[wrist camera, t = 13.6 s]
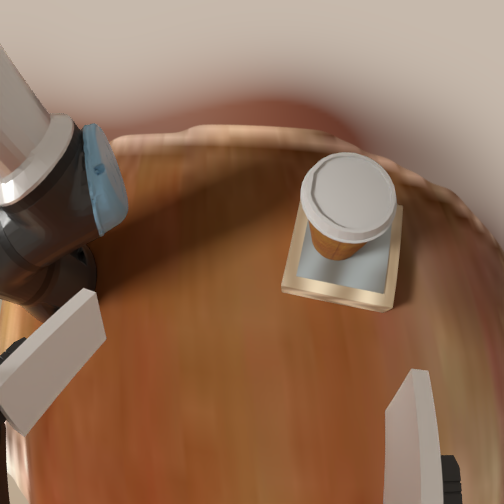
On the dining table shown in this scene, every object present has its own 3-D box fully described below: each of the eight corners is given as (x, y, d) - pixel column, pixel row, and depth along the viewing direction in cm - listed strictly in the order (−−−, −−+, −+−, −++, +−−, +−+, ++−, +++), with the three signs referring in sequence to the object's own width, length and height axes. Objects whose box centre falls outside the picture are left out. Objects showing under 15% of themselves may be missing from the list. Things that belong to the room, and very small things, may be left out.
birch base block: (282, 292, 43) (281, 285, 39) (302, 198, 47) (303, 184, 43) (383, 312, 40) (393, 307, 36) (395, 217, 44) (403, 205, 40)
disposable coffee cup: (328, 189, 42) (339, 133, 31) (386, 232, 39) (416, 187, 28) (282, 240, 40) (279, 194, 29) (342, 289, 38) (364, 260, 26)
